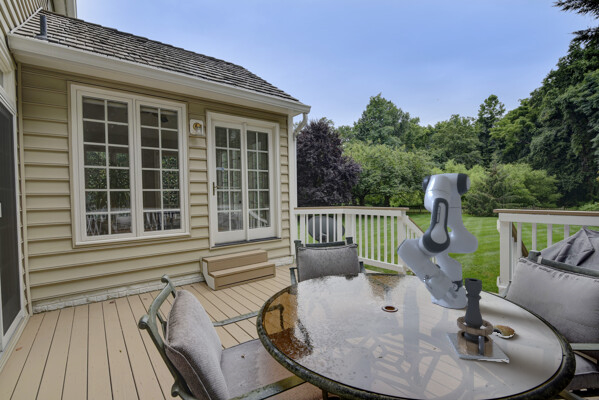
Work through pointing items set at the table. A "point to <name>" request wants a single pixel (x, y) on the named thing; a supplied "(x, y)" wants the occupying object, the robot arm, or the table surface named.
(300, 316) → the table surface
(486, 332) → the collar stand
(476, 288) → the candle holder
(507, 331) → the pastry
